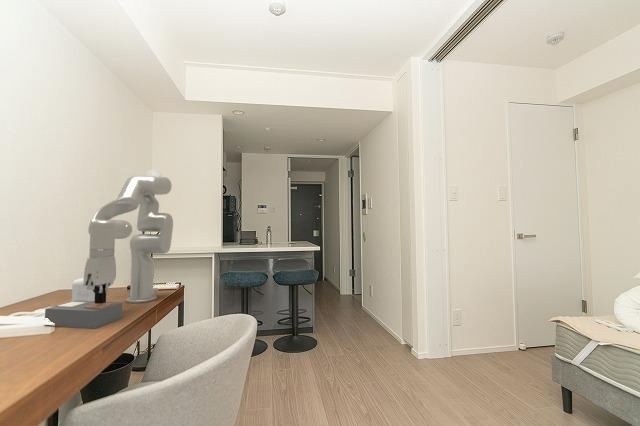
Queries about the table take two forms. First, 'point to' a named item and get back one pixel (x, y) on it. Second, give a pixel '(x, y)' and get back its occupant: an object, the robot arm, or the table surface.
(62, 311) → the block
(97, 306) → the terracotta key
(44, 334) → the table surface
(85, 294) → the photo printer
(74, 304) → the white key
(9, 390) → the table surface
